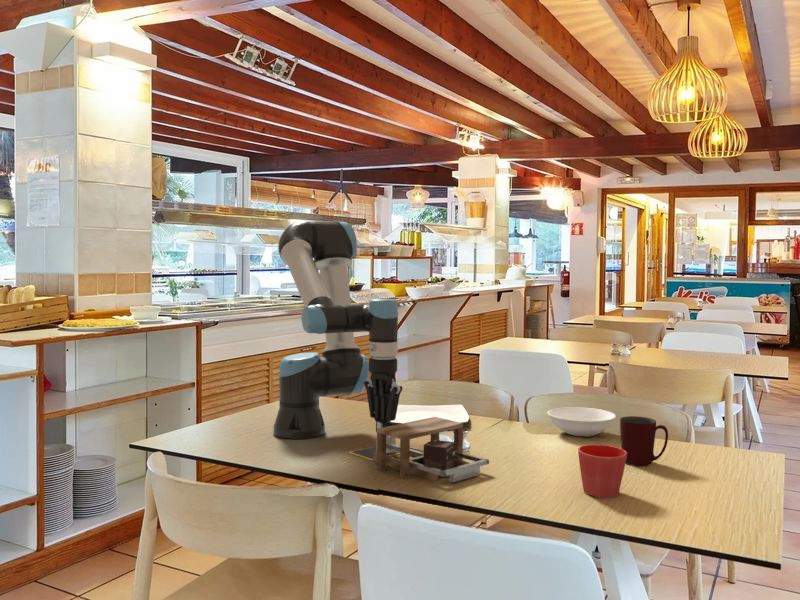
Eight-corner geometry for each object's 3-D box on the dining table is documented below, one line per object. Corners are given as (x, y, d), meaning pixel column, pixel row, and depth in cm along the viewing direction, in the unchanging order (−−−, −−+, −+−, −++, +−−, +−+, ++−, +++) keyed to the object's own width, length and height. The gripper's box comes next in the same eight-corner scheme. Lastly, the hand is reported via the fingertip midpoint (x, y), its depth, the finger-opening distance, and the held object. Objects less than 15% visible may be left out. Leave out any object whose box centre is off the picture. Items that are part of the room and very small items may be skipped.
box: (445, 477, 181) (445, 447, 180) (422, 474, 183) (422, 444, 183) (455, 471, 186) (455, 442, 186) (432, 468, 189) (432, 439, 188)
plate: (472, 431, 229) (472, 422, 229) (377, 430, 229) (377, 421, 229) (465, 411, 257) (465, 403, 257) (381, 410, 258) (381, 402, 258)
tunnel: (361, 464, 192) (361, 424, 191) (418, 450, 205) (419, 413, 205) (422, 484, 175) (422, 440, 175) (480, 467, 189) (480, 427, 189)
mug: (671, 463, 195) (672, 420, 194) (661, 471, 188) (663, 427, 187) (625, 455, 202) (626, 414, 201) (614, 463, 194) (615, 420, 194)
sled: (361, 459, 195) (361, 441, 195) (406, 448, 206) (406, 431, 205) (443, 485, 174) (443, 465, 173) (488, 471, 184) (489, 453, 184)
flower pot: (636, 495, 169) (637, 452, 169) (602, 503, 163) (603, 459, 163) (600, 482, 178) (601, 441, 177) (566, 490, 172) (567, 448, 172)
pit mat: (348, 452, 202) (348, 451, 202) (381, 445, 210) (381, 444, 210) (372, 460, 195) (372, 459, 195) (406, 452, 203) (406, 451, 203)
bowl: (591, 425, 237) (591, 405, 237) (629, 440, 218) (630, 418, 218) (534, 429, 231) (535, 408, 231) (569, 445, 212) (569, 422, 212)
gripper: (356, 356, 201) (355, 443, 203) (389, 361, 192) (388, 453, 193) (377, 353, 206) (377, 439, 208) (410, 358, 197) (409, 448, 198)
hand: (382, 445), depth 201 cm, fingers closed
